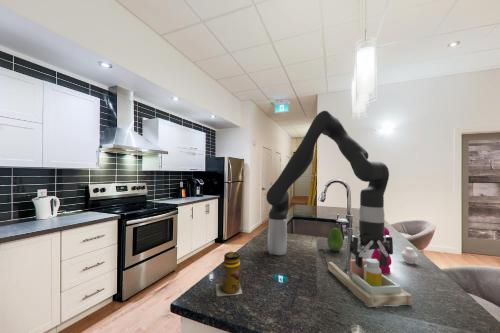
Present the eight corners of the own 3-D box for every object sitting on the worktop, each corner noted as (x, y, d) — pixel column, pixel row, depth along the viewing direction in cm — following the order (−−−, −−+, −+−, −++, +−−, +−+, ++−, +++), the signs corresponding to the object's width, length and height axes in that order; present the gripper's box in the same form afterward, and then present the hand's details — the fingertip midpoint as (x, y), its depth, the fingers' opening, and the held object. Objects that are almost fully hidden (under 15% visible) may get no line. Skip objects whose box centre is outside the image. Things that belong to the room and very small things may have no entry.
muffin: (402, 263, 94) (402, 248, 94) (400, 258, 99) (400, 244, 100) (420, 266, 91) (419, 250, 91) (416, 261, 96) (416, 246, 97)
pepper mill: (388, 267, 89) (388, 221, 90) (394, 275, 83) (393, 225, 83) (369, 265, 92) (369, 219, 92) (373, 272, 85) (373, 223, 86)
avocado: (345, 253, 105) (345, 229, 105) (330, 253, 105) (330, 229, 106) (339, 247, 113) (339, 225, 113) (324, 247, 113) (324, 225, 114)
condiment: (242, 294, 69) (243, 257, 69) (217, 297, 67) (217, 259, 67) (238, 282, 76) (239, 249, 76) (215, 285, 74) (216, 251, 74)
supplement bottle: (360, 284, 74) (360, 257, 74) (374, 284, 74) (374, 257, 74) (370, 293, 68) (370, 264, 69) (385, 293, 69) (385, 263, 69)
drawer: (371, 303, 64) (371, 274, 64) (350, 284, 75) (350, 259, 75) (400, 302, 65) (400, 273, 66) (376, 283, 76) (375, 258, 76)
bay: (368, 307, 62) (368, 297, 62) (328, 269, 87) (328, 262, 87) (411, 305, 64) (411, 295, 64) (359, 268, 89) (359, 260, 89)
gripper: (382, 216, 76) (382, 261, 76) (345, 216, 75) (345, 262, 74) (399, 221, 69) (399, 271, 68) (358, 221, 67) (358, 272, 67)
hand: (371, 266), depth 71 cm, fingers open, 8 cm apart
